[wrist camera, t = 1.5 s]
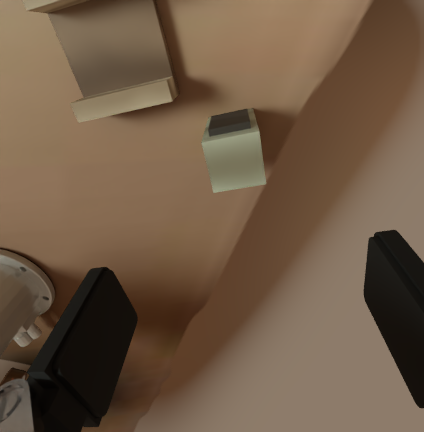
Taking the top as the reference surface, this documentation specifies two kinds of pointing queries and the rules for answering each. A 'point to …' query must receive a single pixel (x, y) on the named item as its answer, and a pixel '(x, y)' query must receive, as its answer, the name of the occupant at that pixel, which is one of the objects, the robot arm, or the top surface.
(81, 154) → the top surface
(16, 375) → the tin
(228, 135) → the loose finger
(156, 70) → the rail board
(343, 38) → the top surface
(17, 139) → the top surface
